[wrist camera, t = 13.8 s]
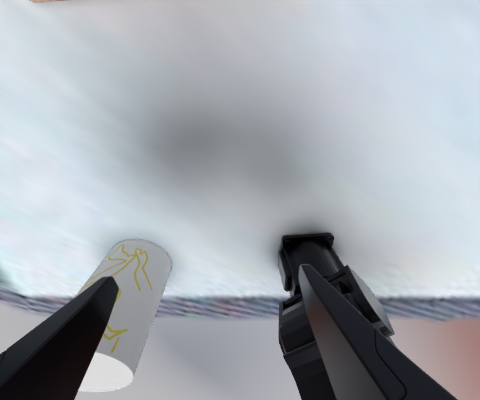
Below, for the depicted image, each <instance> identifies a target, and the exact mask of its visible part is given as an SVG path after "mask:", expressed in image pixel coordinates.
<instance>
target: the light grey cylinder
mask: <svg viewBox="0 0 480 400" xmlns="http://www.w3.org/2000/svg"><path fill="white" fill-rule="evenodd" d="M171 269H172V262H171V259H170V257H169V255H168V254H167V253H166V251H165V250H163V249H162V248H161V247H159V246H158V245H156V244H154V243H151V242H149V241H145V240H139V239H130V240H125V241H122V242H119V243H118V244H116V245H115V246H114V247H113V248H112V249H111V251H110V252H109V253H108V255H107V256H106V257H105V259H104V260H103V261H102V262H101V264H100V265H99V266H98V268H97V269H96V270H95V271H94V273H93V274H92V275H91V277H90V278H89V279H88V281H87V282H86V283H85V284H84V286H83V287H82V288H81V290H80V291H79V292H78V294H77V295H76V296H78V295H79V294H80V293H82V292H83V291H84V290H86V289H87V288H88V287H90V286H91V285H92V284H93V283H95V282H96V281H97V280H99V279H100V278H102V277H104V276H112V277H113V278H114V279H115V281H116V283H117V285H118V287H119V292H118V295H117V298H116V301H115V304H114V307H113V310H112V313H111V316H110V319H109V321H108V324H107V327H106V329H105V331H104V334H103V336H102V338H101V340H100V343H99V345H98V347H97V349H96V352H95V354H94V356H93V358H92V361H91V363H90V365H89V367H88V370H87V372H86V374H85V377H84V379H83V381H82V383H81V386H80V388H79V390H78V391H84V392H106V391H113V390H117V389H121V388H123V387H125V386H127V385H129V384H130V383H131V382H132V380H133V377H134V374H135V371H136V369H137V366H138V363H139V360H140V357H141V354H142V352H143V349H144V346H145V343H146V340H147V337H148V334H149V332H150V329H151V326H152V323H153V320H154V317H155V314H156V312H157V309H158V306H159V303H160V300H161V297H162V295H163V292H164V289H165V286H166V283H167V280H168V277H169V275H170V272H171ZM76 296H75V297H76ZM75 297H74V298H75Z"/></svg>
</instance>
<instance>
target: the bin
mask: <svg viewBox="0 0 480 400" xmlns="http://www.w3.org/2000/svg"><path fill="white" fill-rule="evenodd" d="M30 1H32V2H47V1H62V0H30Z"/></svg>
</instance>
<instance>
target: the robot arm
mask: <svg viewBox="0 0 480 400" xmlns="http://www.w3.org/2000/svg"><path fill="white" fill-rule="evenodd" d="M329 237H330V238H329ZM285 240H286V241H285ZM333 241H334V236H333V235H332V234H331V233H326V234H310V235H294V236H284V237H283V238H282V247H281V251H279V256H278V267H279V271H280V275H281V279H282V283H283V287H284V290H285V291H289V292H290V295H291V298H289V299H287V300H285V301H284V300H283V301H281V302H280V303H279V344H280V346H281V349H282V352H283V354H284V355H283V357H284V359H285V361H286V363H287V365H288V366H289V368H290V370H291V372H292V375H293V377H294V379H295V381H296V384H297V387H298V390H299V393H300V396H301V399H302V400H457V399H456V398H455V397H454V396H453V395H451V394H450V393H449V392H448V391H447V390H445V389H444V388H443V387H442V386H441V385H440V384H438V383H437V382H436V381H435V380H434V379H432V378H431V377H430V376H429V375H428V374H426V373H425V372H424V371H423V370H422V369H420V368H419V367H418V366H417V365H416V364H414V363H413V362H412V361H411V360H410V359H409V358H408V357H407V356H405V355H404V354H403V353H402V352H401V351H400V350H399V349H398V348H397V347H396V346H395V344H394V343H393V341H392V340H391V338H390V337H389V336H392V335H394V331H393V329H392V327H391V324H390V322H389V320H388V318H387V315H386V313H385V311H384V309H383V307H382V305H381V304H380V302H379V301H378V300H377V298H376V297H375V295H374V294H373V293H372V291H371V290H370V288H369V287H368V286H367V285H366V284H365V283H364V282H363V281H362V279H361V278H360V277H359V276H358V275H357V274H356V273H355V272H354V271H353V270H352V269H351V268H350V267H349V266H348V265H347V266H345V267H344V265H343V264H342V262H341V260H340V259H339V257H338V256H337V254H336V252H335V251H334V249H333V248H332V245H333ZM118 292H119V287H118V285H117V283H116V281H115V279H114V278H113V277H112V276H104V277H102V278H100V279H99V280H97V281H96V282H95V283H93V284H92V285H91V286H90V287H88V288H87V289H86V290H84V291H83V292H82V293H80V294H79V295H78V296H76V297H75V298H74V299H72V300H71V301H70V302H68V303H67V304H66V305H64V306H63V307H62V308H61V309H59V310H58V311H57V312H55V313H54V314H53V315H51V316H50V317H49V318H47V319H46V320H45V321H43V322H42V323H41V324H40V325H38V326H37V327H35V328H34V329H33V330H32V331H30V332H29V333H28V334H26V335H25V336H24V337H22V338H21V339H20V340H18V341H17V342H16V343H14V344H13V345H12V346H10V347H9V348H8V349H7V350H6V351H4V352H2V353H1V354H0V400H74V399H75V396H76V395H77V392H78V390H79V388H80V386H81V383H82V381H83V379H84V377H85V374H86V372H87V370H88V367H89V365H90V363H91V361H92V358H93V356H94V354H95V352H96V349H97V347H98V345H99V343H100V340H101V338H102V336H103V334H104V331H105V329H106V327H107V324H108V321H109V319H110V316H111V313H112V310H113V307H114V304H115V301H116V298H117V295H118Z"/></svg>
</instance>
